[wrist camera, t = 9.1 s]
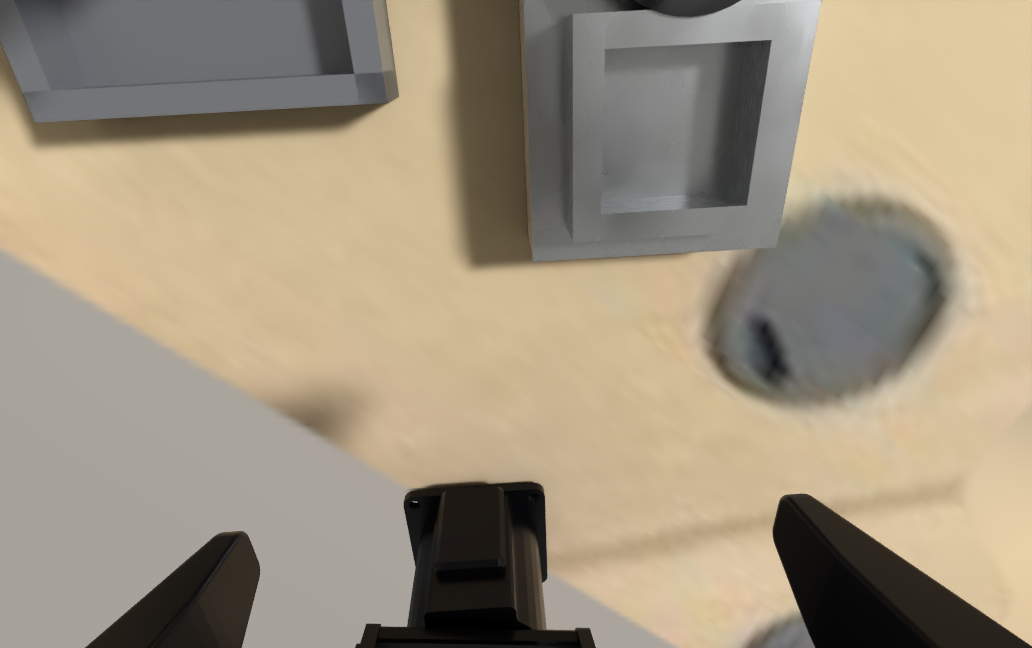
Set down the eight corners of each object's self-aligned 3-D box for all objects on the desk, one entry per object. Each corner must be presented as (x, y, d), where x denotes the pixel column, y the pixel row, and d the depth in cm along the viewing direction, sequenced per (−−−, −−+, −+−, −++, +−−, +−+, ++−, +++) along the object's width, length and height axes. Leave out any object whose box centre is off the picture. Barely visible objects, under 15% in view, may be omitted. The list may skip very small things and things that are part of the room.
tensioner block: (744, 224, 20) (812, 272, 16) (528, 237, 20) (538, 289, 16) (810, -213, 14) (941, -318, 10) (511, -198, 14) (519, -299, 10)
